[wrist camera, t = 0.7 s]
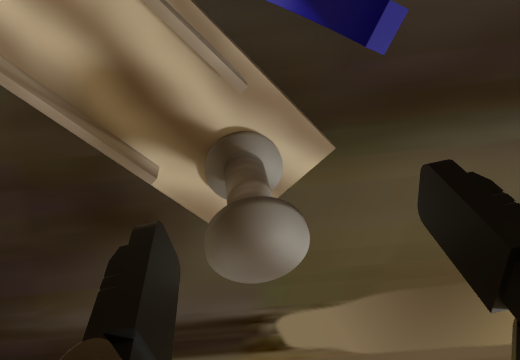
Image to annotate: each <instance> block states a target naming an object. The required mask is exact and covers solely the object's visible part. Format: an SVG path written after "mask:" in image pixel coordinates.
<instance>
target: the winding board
mask: <svg viewBox="0 0 520 360" xmlns="http://www.w3.org/2000/svg"><path fill="white" fill-rule="evenodd" d="M0 85H2V86H3V87H5V88H6V89H8V90H9V91H11V92H12V93H14V94H15V95H17V96H18V97H20V98H21V99H23V100H24V101H26V102H27V103H29V104H30V105H32V106H33V107H35V108H36V109H38V110H39V111H41V112H42V113H44V114H45V115H47V116H48V117H50V118H51V119H53V120H54V121H56V122H57V123H59V124H60V125H62V126H63V127H65V128H66V129H68V130H69V131H71V132H72V133H74V134H75V135H77V136H78V137H80V138H81V139H83V140H84V141H86V142H87V143H89V144H90V145H92V146H93V147H95V148H96V149H98V150H99V151H101V152H102V153H104V154H105V155H107V156H108V157H110V158H111V159H113V160H114V161H116V162H117V163H119V164H120V165H122V166H123V167H125V168H126V169H128V170H129V171H131V172H132V173H134V174H135V175H137V176H138V177H140V178H141V179H143V180H144V181H146V182H147V183H149V184H150V185H152V186H153V187H155V188H156V189H158V190H160V191H161V192H163V193H164V194H166V195H167V196H169V197H170V198H172V199H173V200H175V201H176V202H178V203H179V204H181V205H182V206H184V207H185V208H187V209H188V210H190V211H191V212H193V213H194V214H196V215H197V216H199V217H200V218H202V219H203V220H205V221H206V222H208V223H209V224H208V226H207V229H206V231H205V237H204V251H205V256H206V259H207V261H208V263H209V265H210V266H211V267H212V268H213V270H215V271H216V272H217V273H218V274H220V275H221V276H223V277H225V278H227V279H229V280H232V281H236V282H241V283H262V282H267V281H271V280H274V279H277V278H279V277H281V276H283V275H285V274H287V273H289V272H290V271H292V270H293V269H294V268H295V267H296V266H297V265H298V264H299V263H300V262H301V261H302V260H303V258H304V257H305V255H306V253H307V251H308V248H309V244H310V234H309V230H308V227H307V224H306V222H305V219H304V217H303V216H302V214H301V213H300V211H299V210H298V209H297V208H296V207H294V206H293V205H291V204H290V203H288V202H286V201H284V200H281V199H278V197H279V196H280V195H281V194H283V193H284V192H285V191H286V190H287V189H288V188H290V187H291V186H292V185H293V184H294V183H296V182H297V181H298V180H299V179H300V178H301V177H303V176H304V175H305V174H306V173H307V172H308V171H310V170H311V169H312V168H313V167H314V166H316V165H317V164H318V163H319V162H320V161H321V160H323V159H324V158H325V157H326V156H327V155H328V154H330V153H331V152H332V151H333V150H334V149H336V148H335V147H334V145H333V144H332V142H331V141H330V140H329V139H328V138H327V137H326V136H325V135H324V134H323V133H322V132H321V131H320V130H319V129H318V128H317V127H316V126H315V125H314V124H313V122H312V121H311V120H310V119H309V118H308V117H307V116H306V115H305V114H304V113H303V112H302V111H301V110H300V109H299V108H298V107H297V106H296V105H295V104H294V103H293V102H292V101H291V100H290V99H289V98H288V97H287V96H286V95H285V94H284V93H283V92H282V91H281V90H280V89H279V88H278V87H277V86H276V85H275V84H274V82H273V81H272V80H271V79H270V78H269V77H268V76H267V75H266V74H265V73H264V72H263V71H262V70H261V69H260V68H259V67H258V66H257V65H256V64H255V63H254V62H253V61H252V60H251V59H250V58H249V57H248V56H247V55H246V54H245V53H244V52H243V51H242V50H241V49H240V48H239V47H238V46H237V45H236V43H235V42H234V41H233V40H232V39H231V38H230V37H229V36H228V35H227V34H226V33H225V32H224V31H223V30H222V29H221V28H220V27H219V26H218V25H217V24H216V23H215V22H214V21H213V20H212V19H211V18H210V17H209V16H208V15H207V14H206V13H205V12H204V11H203V10H202V9H201V8H200V7H199V6H198V5H197V3H196V2H195V1H194V0H0Z"/></svg>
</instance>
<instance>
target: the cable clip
mask: <svg viewBox="0 0 520 360" xmlns="http://www.w3.org/2000/svg"><path fill="white" fill-rule="evenodd" d="M266 1H269V2H271V3H274V4H276V5H278V6H281V7H283V8H285V9H287V10H290V11H292V12H294V13H296V14H299V15H301V16H303V17H305V18H308V19H310V20H312V21H314V22H316V23H318V24H321V25H323V26H325V27H327V28H329V29H331V30H333V31H335V32H337V33H339V34H341V35H343V36H346V37H348V38H350V39H351V40H353V41H355V42H357V43H359V44H361V45H363V46H365V47H367V48H369V49H371V50H374V51H376V52H378V53H380V54H383V55H384V54H385V52H386V50H387V48H388V47H389V45H390V43H391V41H392V39H393V38H394V36H395V34H396V32H397V30H398V28H399V27H400V25H401V23H402V21H403V19H404V17H405V16H406V14H407V12H408V10H409V9H407V8H405V7H403V6H401V5H399V4H397V3H395V2H393V1H391V0H266Z"/></svg>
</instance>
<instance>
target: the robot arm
mask: <svg viewBox="0 0 520 360" xmlns="http://www.w3.org/2000/svg"><path fill="white" fill-rule="evenodd" d="M418 212H419V216H420V218H421V221H422V223H423V224H424V226H425V227H426V228H427V230H428V231H429V232H430V233H431V235H432V236H433V237H434V239H435V240H436V241H437V243H438V244H439V245H440V247H441V248H442V249H443V251H444V252H445V253H446V255H447V256H448V257H449V259H450V260H451V261H452V262H453V264H454V265H455V266H456V268H457V269H458V270H459V272H460V273H461V274H462V276H463V277H464V278H465V280H466V281H467V282H468V284H469V285H470V286H471V287H472V289H473V290H474V291H475V293H476V294H477V295H478V297H479V298H480V299H481V301H482V302H483V303H484V305H485V306H486V307H487V309H488V310H489V311H490V313H495V312H500V311H505V310H510V312H511V313H512V314H513V315H514V317H515V319H514V322H513V333H512V355H511V360H520V204H519V203H516V202H515V200H514V199H513V198H512V197H511V196H509V195H508V194H505V193H504V191H503V190H502V189H501V188H500V187H499V186H497V185H496V184H495V183H494V182H493V181H491V180H490V179H488V178H485V177H483V176H481V175H479V174H476V173H474V172H469V173H467V172H466V171H464V170H463V169H462V168H461V167H460V166H459V165H458V164H456V163H455V162H454V161H453V160H450V159H448V160H443V161H439V162H434V163H429V164H425V165H423V166H422V168H421V172H420V183H419V195H418ZM179 282H180V265H179V260H178V257H177V254H176V252H175V250H174V248H173V245H172V243H171V241H170V239H169V237H168V234H167V232H166V230H165V228H164V226H163V224H162V223H161V222H160V221H157V222H152V223H148V224H143V225H138V226H135V227H134V228H133V230H132V234H131V237H130V241H129V244H128V245H125V246H121V247H119V249H118V250H117V251H116V253H115V254H114V255H113V256H112V258H111V259H110V260H109V263H108V266H107V269H106V272H105V275H104V279H103V281H102V283H101V286H100V291H99V292H98V295H97V298H96V301H95V304H94V307H93V310H92V313H91V316H90V319H89V322H88V325H87V328H86V331H85V334H84V337H83V340H82V342H81V343H79V344H77V345H76V346H74V347H73V348H71V349H70V350H69V351H68V352H67V353H66V354H65V355H64V356H63V357H62V358H61V359H60V360H172V350H173V341H174V331H175V321H176V311H177V302H178V292H179Z"/></svg>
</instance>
